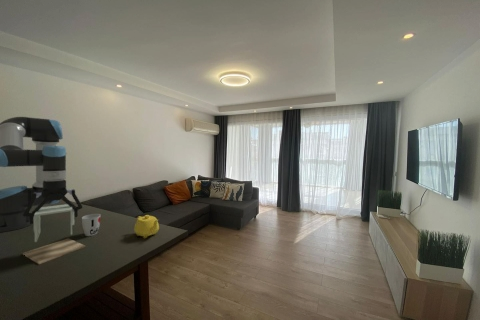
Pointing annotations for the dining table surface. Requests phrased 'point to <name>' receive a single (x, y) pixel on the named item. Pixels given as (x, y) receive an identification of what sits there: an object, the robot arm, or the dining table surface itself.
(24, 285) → the dining table surface
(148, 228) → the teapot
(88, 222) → the cup
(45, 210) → the cover
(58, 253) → the mat
